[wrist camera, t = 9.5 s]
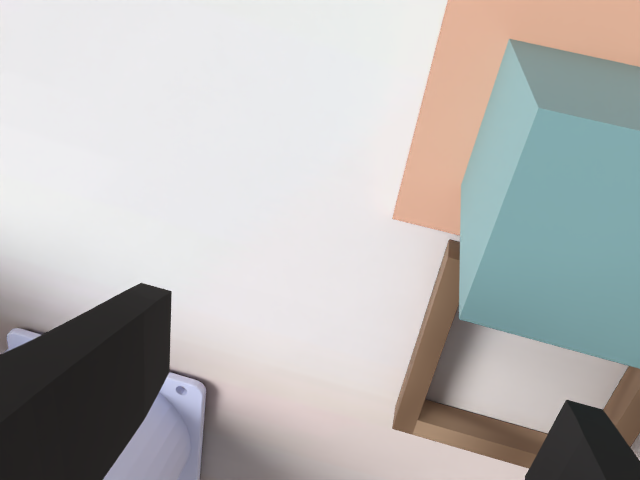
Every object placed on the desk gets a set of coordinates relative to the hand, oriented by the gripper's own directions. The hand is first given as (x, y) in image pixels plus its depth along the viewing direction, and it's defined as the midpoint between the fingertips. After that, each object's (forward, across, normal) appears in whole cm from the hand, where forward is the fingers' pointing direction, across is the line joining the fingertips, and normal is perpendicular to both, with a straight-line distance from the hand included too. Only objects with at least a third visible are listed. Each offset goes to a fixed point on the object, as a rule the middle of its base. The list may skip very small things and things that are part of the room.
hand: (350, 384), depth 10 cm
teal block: (+9, -4, -3) cm, 10 cm away
